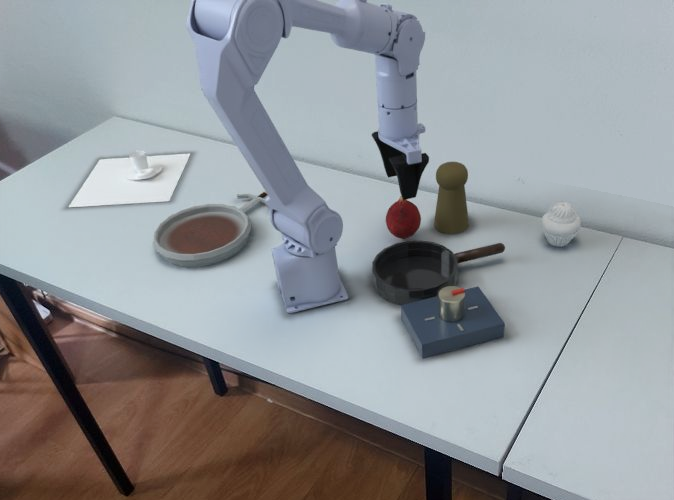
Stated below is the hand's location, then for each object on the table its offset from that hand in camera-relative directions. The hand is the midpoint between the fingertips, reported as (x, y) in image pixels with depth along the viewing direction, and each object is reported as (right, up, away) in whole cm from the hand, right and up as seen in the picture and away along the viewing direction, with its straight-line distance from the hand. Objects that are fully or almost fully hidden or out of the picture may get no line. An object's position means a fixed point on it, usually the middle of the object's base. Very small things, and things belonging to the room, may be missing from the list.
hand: (401, 186), depth 104 cm
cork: (+9, -5, +9) cm, 14 cm away
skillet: (+2, -15, -2) cm, 15 cm away
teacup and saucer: (-53, +9, +30) cm, 62 cm away
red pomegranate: (+1, -7, +7) cm, 10 cm away
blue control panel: (+7, -23, -11) cm, 26 cm away
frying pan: (-31, -4, +14) cm, 34 cm away
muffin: (+26, -8, +3) cm, 27 cm away
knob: (+6, -21, -12) cm, 25 cm away
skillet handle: (+12, -11, -1) cm, 17 cm away
